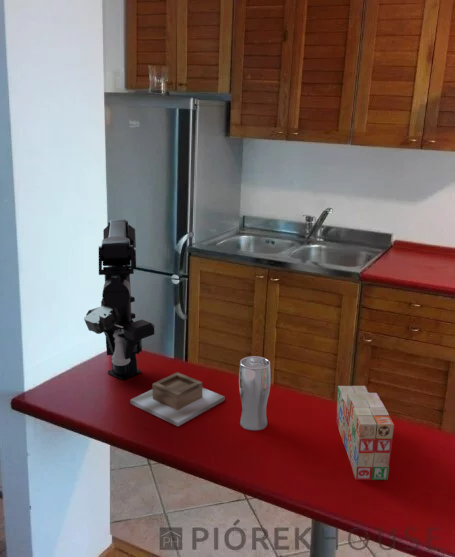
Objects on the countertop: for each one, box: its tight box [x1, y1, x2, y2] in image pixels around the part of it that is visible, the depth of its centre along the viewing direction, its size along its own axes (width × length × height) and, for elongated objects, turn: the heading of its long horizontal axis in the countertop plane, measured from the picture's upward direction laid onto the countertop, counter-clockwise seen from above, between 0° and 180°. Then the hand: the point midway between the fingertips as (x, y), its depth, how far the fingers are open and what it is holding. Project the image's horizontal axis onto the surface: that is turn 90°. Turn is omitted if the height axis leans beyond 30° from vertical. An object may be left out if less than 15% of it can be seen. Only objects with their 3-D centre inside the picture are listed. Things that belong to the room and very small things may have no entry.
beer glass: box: [238, 355, 272, 432], centre depth 127 cm, size 7×7×15 cm
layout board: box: [129, 371, 226, 427], centre depth 137 cm, size 16×16×5 cm
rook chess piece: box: [111, 329, 130, 366], centre depth 136 cm, size 4×4×8 cm
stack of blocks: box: [335, 385, 395, 481], centre depth 118 cm, size 21×6×12 cm, turn 0°
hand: (121, 356), depth 137 cm, fingers closed on rook chess piece, 4 cm apart
